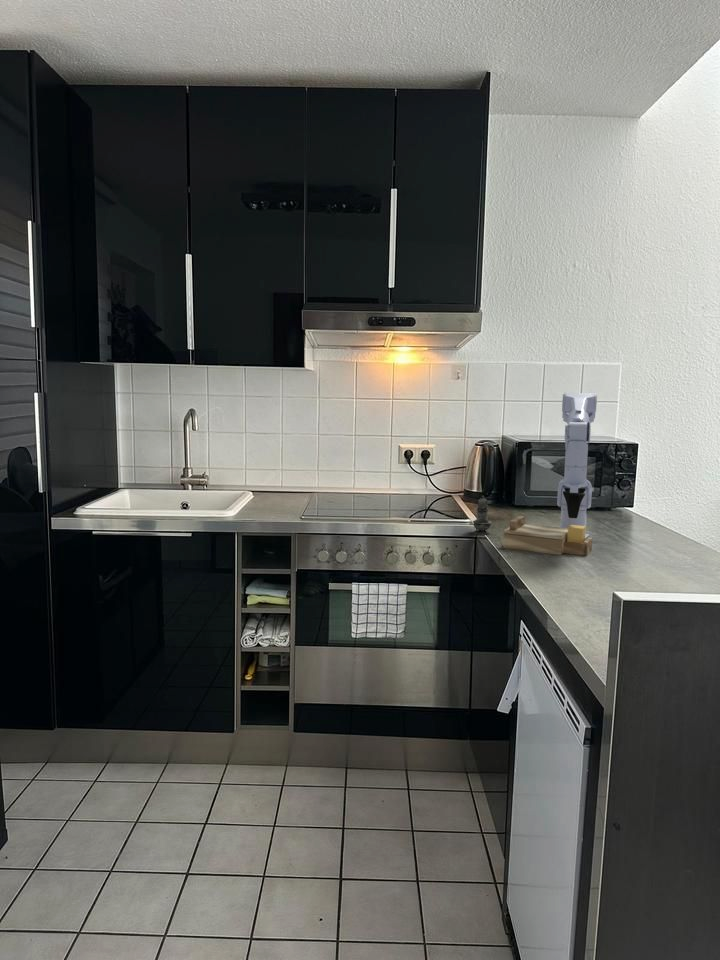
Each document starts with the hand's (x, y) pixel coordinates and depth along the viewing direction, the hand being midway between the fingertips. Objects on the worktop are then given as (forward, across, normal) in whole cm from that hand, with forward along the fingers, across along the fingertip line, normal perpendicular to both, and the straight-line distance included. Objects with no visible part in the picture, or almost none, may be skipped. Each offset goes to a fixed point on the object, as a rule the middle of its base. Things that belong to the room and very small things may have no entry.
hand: (573, 515), depth 179 cm
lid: (+6, -3, -9) cm, 12 cm away
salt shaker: (+11, -17, -27) cm, 34 cm away
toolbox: (+10, -3, -6) cm, 12 cm away
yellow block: (+10, -1, +1) cm, 10 cm away
